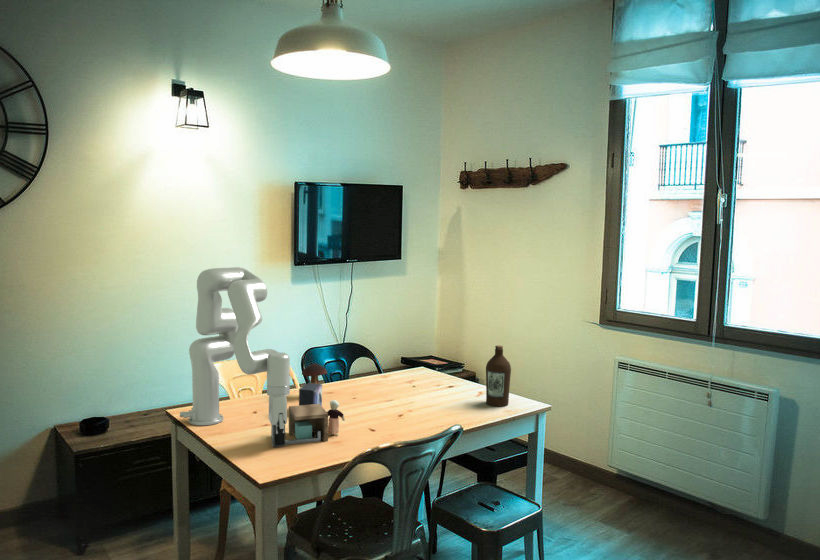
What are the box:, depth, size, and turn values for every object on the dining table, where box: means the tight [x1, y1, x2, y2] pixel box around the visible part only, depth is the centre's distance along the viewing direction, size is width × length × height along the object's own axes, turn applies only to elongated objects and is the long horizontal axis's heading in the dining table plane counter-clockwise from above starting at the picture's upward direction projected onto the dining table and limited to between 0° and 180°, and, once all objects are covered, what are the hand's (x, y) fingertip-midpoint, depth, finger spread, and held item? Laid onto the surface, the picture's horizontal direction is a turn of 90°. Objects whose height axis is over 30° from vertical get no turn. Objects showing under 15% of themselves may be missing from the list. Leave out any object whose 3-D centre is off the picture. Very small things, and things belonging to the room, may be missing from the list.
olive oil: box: [485, 345, 512, 408], centre depth 272 cm, size 11×11×25 cm
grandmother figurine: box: [326, 399, 346, 437], centre depth 228 cm, size 8×4×13 cm, turn 93°
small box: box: [298, 382, 323, 407], centre depth 255 cm, size 11×6×10 cm, turn 168°
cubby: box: [288, 404, 329, 442], centre depth 225 cm, size 11×13×10 cm
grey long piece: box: [270, 423, 322, 448], centre depth 220 cm, size 16×6×7 cm, turn 111°
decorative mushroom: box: [301, 362, 328, 384], centre depth 276 cm, size 11×11×15 cm
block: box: [294, 421, 313, 439], centre depth 225 cm, size 5×5×5 cm
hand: (278, 442), depth 217 cm, fingers closed on grey long piece, 4 cm apart
